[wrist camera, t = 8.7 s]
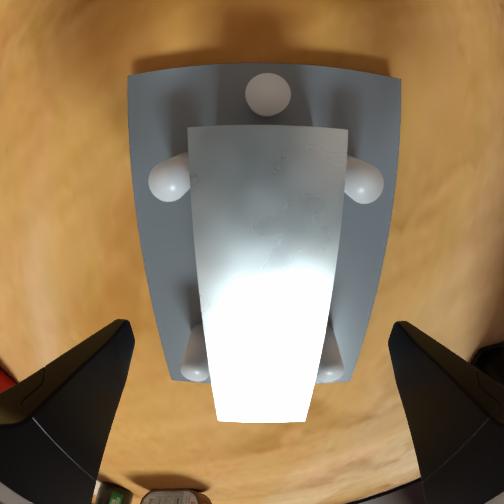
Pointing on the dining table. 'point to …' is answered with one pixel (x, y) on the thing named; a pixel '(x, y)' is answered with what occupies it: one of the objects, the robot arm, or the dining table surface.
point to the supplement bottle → (113, 494)
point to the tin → (175, 497)
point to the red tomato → (5, 382)
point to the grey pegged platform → (260, 113)
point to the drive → (265, 260)
